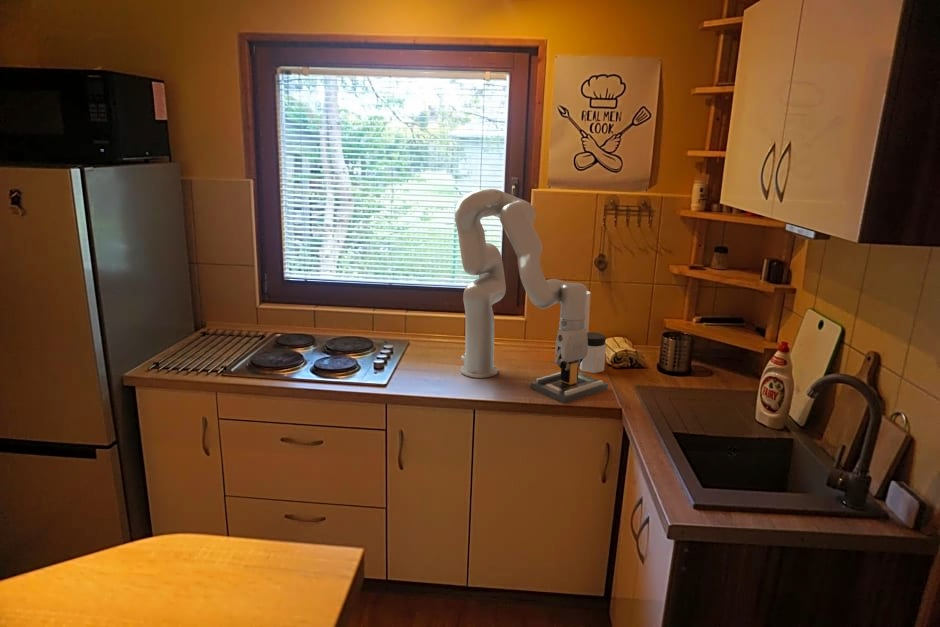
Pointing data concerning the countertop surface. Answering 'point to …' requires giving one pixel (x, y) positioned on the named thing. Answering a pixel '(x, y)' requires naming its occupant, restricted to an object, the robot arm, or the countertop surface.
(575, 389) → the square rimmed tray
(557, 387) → the panel
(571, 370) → the lever
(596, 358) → the jar
